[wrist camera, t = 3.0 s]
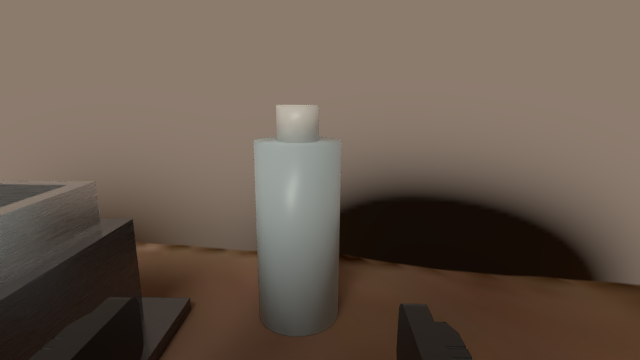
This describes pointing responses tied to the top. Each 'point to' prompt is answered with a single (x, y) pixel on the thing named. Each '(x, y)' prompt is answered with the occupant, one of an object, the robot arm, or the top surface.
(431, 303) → the top surface
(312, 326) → the bottle
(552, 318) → the top surface
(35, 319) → the grey socket base
